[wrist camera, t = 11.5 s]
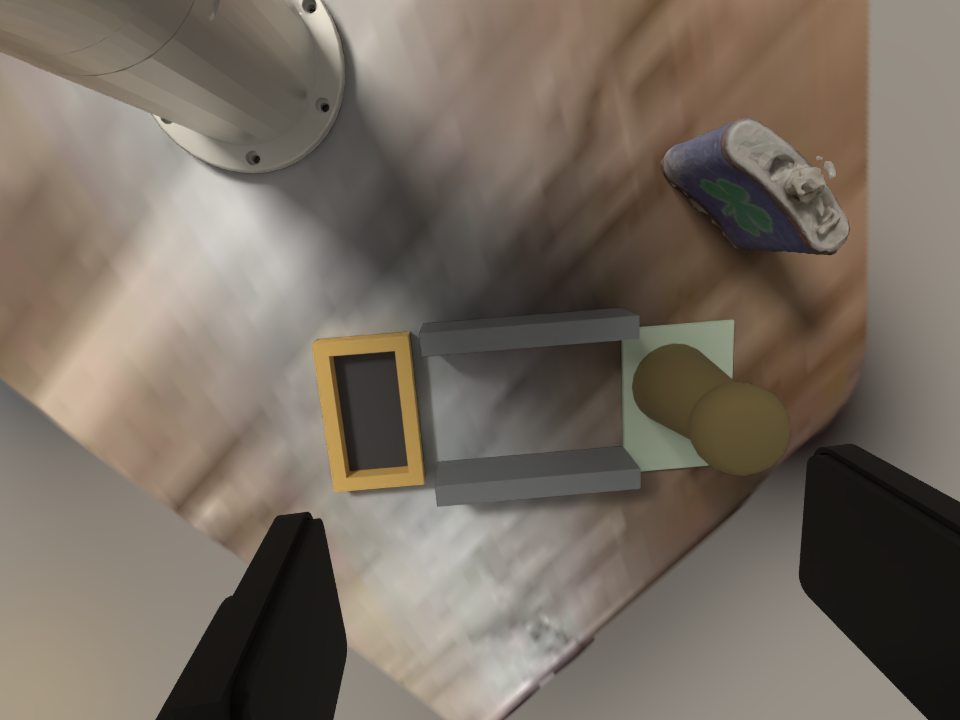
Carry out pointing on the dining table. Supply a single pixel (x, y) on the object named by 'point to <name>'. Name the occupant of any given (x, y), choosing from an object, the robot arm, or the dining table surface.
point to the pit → (370, 411)
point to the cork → (712, 410)
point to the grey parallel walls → (541, 469)
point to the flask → (759, 189)
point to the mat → (646, 436)
